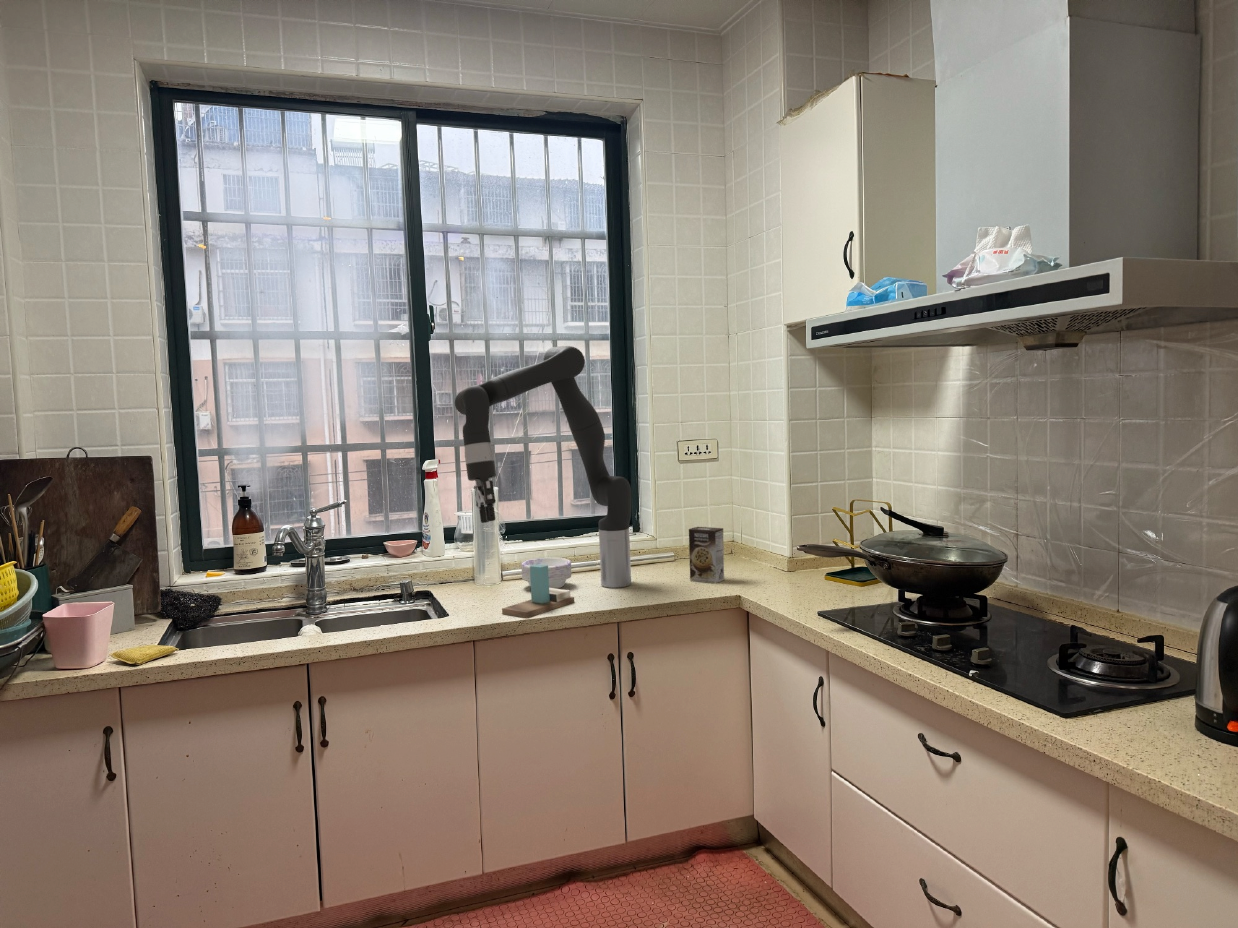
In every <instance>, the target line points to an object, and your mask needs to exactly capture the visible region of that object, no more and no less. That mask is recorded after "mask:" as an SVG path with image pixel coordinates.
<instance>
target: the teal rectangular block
mask: <svg viewBox="0 0 1238 928" xmlns="http://www.w3.org/2000/svg"><path fill="white" fill-rule="evenodd" d="M530 579H531V587H530V595H531V596H530V598H531V599H532V602H535V603H541V604H543V603H546V602H549V601H550V596H549V575H548V565H539V564H536V565H533V566H530ZM531 599H530V600H531Z"/></svg>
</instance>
